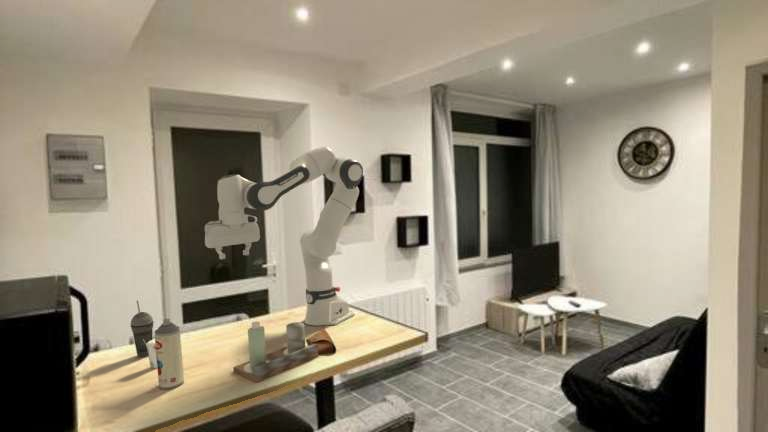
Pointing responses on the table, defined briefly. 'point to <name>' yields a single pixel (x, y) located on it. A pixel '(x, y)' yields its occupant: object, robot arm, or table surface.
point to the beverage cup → (142, 331)
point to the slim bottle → (256, 345)
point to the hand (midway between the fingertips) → (234, 256)
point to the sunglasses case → (322, 342)
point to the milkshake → (152, 353)
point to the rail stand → (281, 356)
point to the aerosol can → (169, 356)
